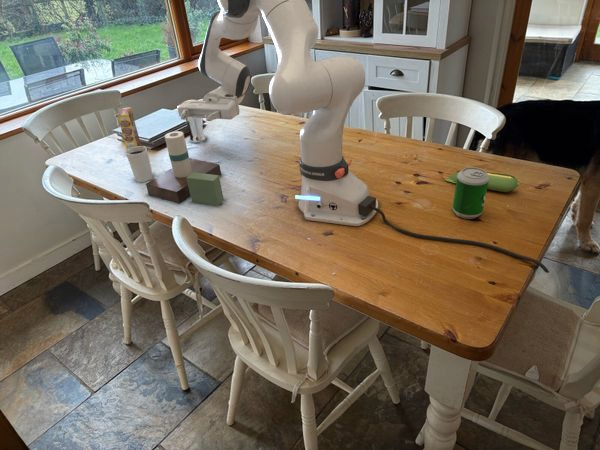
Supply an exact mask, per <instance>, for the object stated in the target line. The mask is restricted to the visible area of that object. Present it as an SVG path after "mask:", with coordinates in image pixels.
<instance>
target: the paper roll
mask: <svg viewBox="0 0 600 450" xmlns="http://www.w3.org/2000/svg"><path fill="white" fill-rule="evenodd" d="M164 141H165V144H166V148H167V152H168V157H169V160H170V164H171V169H172V168H173V172H174V176H175V177H178V178H182V177H187V176H189V175H190V174H191V173H192V169H191V165H190V160H189V158H190V156H189V151H188V147H187V143H186V139H185V133H184V132H183V131H181V130H180V131H179V130H176V131H170V132H167V133H166V134H164Z"/></svg>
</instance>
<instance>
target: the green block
mask: <svg viewBox="0 0 600 450" xmlns="http://www.w3.org/2000/svg"><path fill="white" fill-rule="evenodd" d="M186 179H187V183H188V188H189V192H190V200H191V203H193V204H202V205H208V206H216V207H219V206H220V205H221V204H222V203H223V202H224V200H225V199H224V194H223V193H224V192H223V188H222V184H221V176H220V177H219V175H211V174H203V173H194V172H192V173H191V174H190V175H189V176H188V177H186Z"/></svg>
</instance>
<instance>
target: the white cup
mask: <svg viewBox="0 0 600 450" xmlns="http://www.w3.org/2000/svg"><path fill="white" fill-rule="evenodd" d="M125 155H126V158H127V161H128V163H129V166H130V168H131V172H132V175H133V177H134V180H135V182H137V183H146V182H149V181H151V180H153V179H154V175H153V170H152V166H151V161H150V157H149V153H148V149H147V147H146V146H138V147H133V148H130V149H128V150H127V149H126V151H125Z"/></svg>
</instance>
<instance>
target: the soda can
mask: <svg viewBox="0 0 600 450" xmlns="http://www.w3.org/2000/svg"><path fill="white" fill-rule="evenodd" d="M459 171H460V172H459V173H458V175H457V181H456V183H455V187H454V195H453V202H452V208H451V209H452V211H453V213H455V215H456V216H457V217H458V218H461V219H465V220H474V219H476V218H478V217H480V216H481V215H483V212H484V207H485V202H486V196H487V191H488V189H487V187H488V182H489V176H488V174H487V173H486V172H487V171H486V170H484V169H482V168H480V167H473V166H470V167H469V166H468V167H465V168H463V169H461V170H459Z"/></svg>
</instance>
